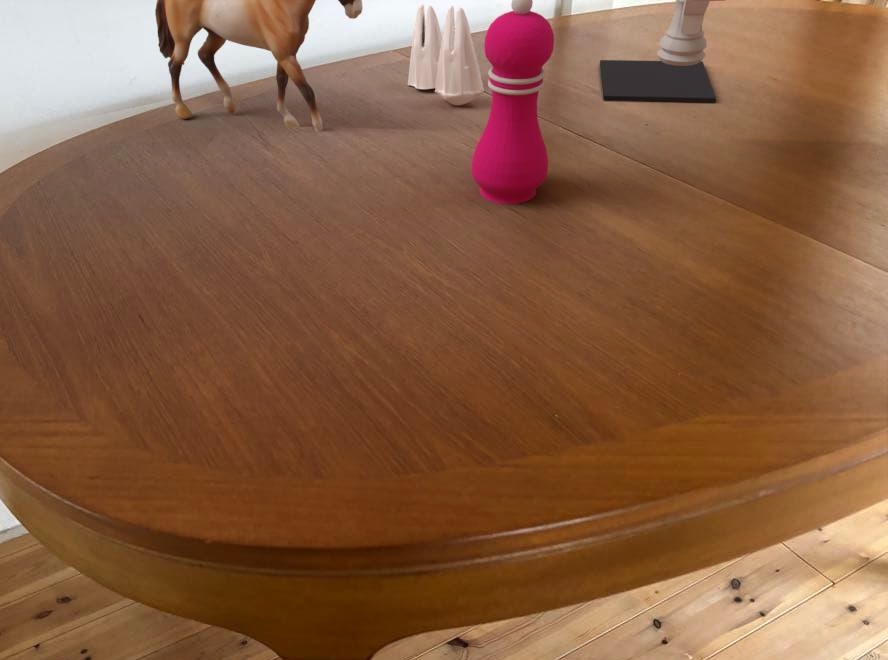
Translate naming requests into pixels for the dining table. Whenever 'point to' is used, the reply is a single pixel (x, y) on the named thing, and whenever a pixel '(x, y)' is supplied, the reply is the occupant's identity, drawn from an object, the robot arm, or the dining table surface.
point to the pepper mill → (514, 107)
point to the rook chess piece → (681, 43)
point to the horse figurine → (241, 41)
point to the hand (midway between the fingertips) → (686, 25)
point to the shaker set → (445, 57)
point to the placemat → (655, 82)
